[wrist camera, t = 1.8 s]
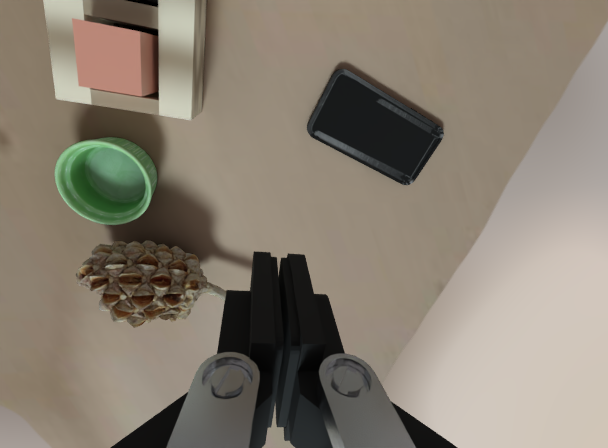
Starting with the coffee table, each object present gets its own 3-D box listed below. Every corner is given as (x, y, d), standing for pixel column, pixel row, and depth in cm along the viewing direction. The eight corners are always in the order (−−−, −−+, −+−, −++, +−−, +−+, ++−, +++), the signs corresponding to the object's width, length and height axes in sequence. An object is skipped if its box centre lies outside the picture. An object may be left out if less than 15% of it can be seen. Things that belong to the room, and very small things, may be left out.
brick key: (104, 26, 28) (71, 18, 23) (160, 36, 29) (139, 31, 24) (108, 82, 30) (78, 86, 25) (160, 91, 31) (141, 96, 26)
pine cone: (93, 274, 42) (49, 330, 33) (108, 209, 39) (62, 252, 30) (257, 315, 48) (256, 372, 39) (282, 263, 45) (287, 312, 36)
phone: (409, 188, 41) (304, 133, 37) (405, 185, 42) (302, 131, 38) (448, 130, 39) (339, 63, 34) (443, 128, 40) (337, 63, 35)
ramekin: (97, 113, 34) (76, 120, 31) (177, 163, 38) (167, 175, 34) (62, 181, 37) (39, 195, 33) (140, 222, 40) (127, 239, 36)
